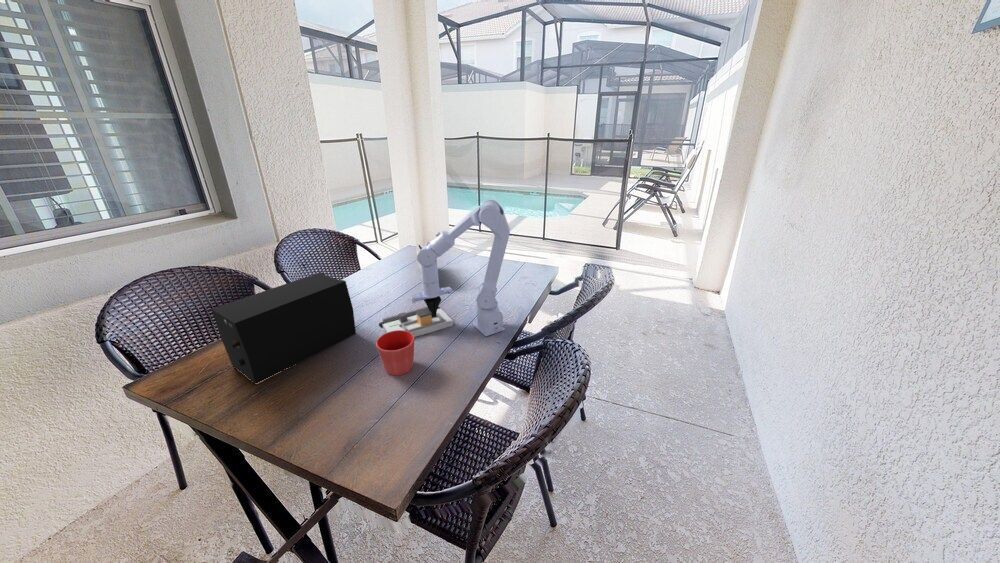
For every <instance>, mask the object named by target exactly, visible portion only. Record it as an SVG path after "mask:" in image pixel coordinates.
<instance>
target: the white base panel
mask: <svg viewBox="0 0 1000 563" xmlns="http://www.w3.org/2000/svg"><path fill="white" fill-rule="evenodd" d="M398 317H399V320H396V321H393V322H389V323H385V324H382V325H383V326H382V329H383V331H384V332H385V333H387V332H390V331H395V330H405V331H409V332H410V333H412V334H413V335H414V338H417V337H420V336H423V335H426V334H429V333H433V332H435V331H436V332H437V331H438V330H442V329H446V328H449V327H453V326H454V320H453V319H452V318H451V317H450V316H449V315H448V314H447V313H446V312H445V311H444V310H443V309H441V307H440V309H437V313H436V317H432V316H431V317H432V323H430V324H426V325H423V326H420V325H419V323H418V322H417V316H416V315H414V316H411V317H407V315H406V313H405V312H401V313H398ZM385 333H384V334H385Z"/></svg>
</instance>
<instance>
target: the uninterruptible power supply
mask: <svg viewBox="0 0 1000 563" xmlns="http://www.w3.org/2000/svg"><path fill="white" fill-rule="evenodd" d="M211 312H212V315H213V317H214V321H215V325H216V326H217V330H218V333H219V337H220V340H221V341H222V343H223V346H224V349H225V351H226V353H227V356H228V358H229V360H230V363H231V366H232V365H233V366H234V367H235V368H237V369H238V370H239V371H241V372H242V373H243V374H245V375H246V376H247V377H248V378H249V379H251V380H252V381H253V382H254V383H258V382H260V381H262V380H264V379H266V378H268V377H270V376H272V375H274V374H276V373H278V372H280V371H283V370H284V369H286V368H289V367H291V366H293V365H295V364H297V363H299V362H301V361H302V362H304V361H306V360H308V359H310V358H312V357H314V356H316V355H318V354H320V353H321V351H322V352H323V350H324V351H326V350H327V349H330V348H331V347H333V346H335V345H337V344H339V343H341V342H342V341H345V340H347V339H349V338H351V337H352V336H355V335H356V334H357V331H356V324H355V322H356V321H355V315H354V308H353V303H352V300H351V296H350V293H349V288H348V285H347V281H346V280H343V279H336V278H334V277H331V276H328V275H326V274H325V273H324V272H322V271H321V272H316V273H314V274H311V275H308V276H305V277H301V278H299V279H297V280H293V281H290V282H287V283H284V284H282V285H279V286H275V287H272V288H270V289H266V290H264V291H261V292H257V293H254V294H251V295H248V296H245V297H243V298H240V299H237V300H236V299H235V300H234V301H231V302H228V303H225V304H222V305H219V306H215V307H213V308H211ZM319 352H320V353H319ZM317 353H318V354H317ZM315 354H316V355H315ZM313 355H314V356H313ZM311 356H312V357H311ZM309 357H310V358H309ZM307 358H308V359H307ZM305 359H306V360H305ZM303 360H304V361H303ZM302 362H301V363H302ZM299 364H300V363H299ZM297 365H298V364H297ZM233 366H232V367H233ZM295 366H296V365H295ZM293 367H294V366H293ZM291 368H292V367H291ZM289 369H290V368H289ZM283 372H284V371H283ZM254 383H253V384H254Z"/></svg>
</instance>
